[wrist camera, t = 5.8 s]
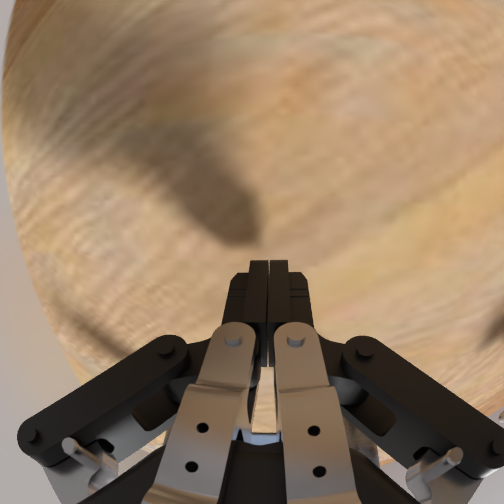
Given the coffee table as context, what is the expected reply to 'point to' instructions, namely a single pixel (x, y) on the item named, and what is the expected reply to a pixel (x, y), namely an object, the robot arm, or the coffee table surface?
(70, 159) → the coffee table surface
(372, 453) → the post
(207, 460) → the robot arm
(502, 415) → the bull figurine
